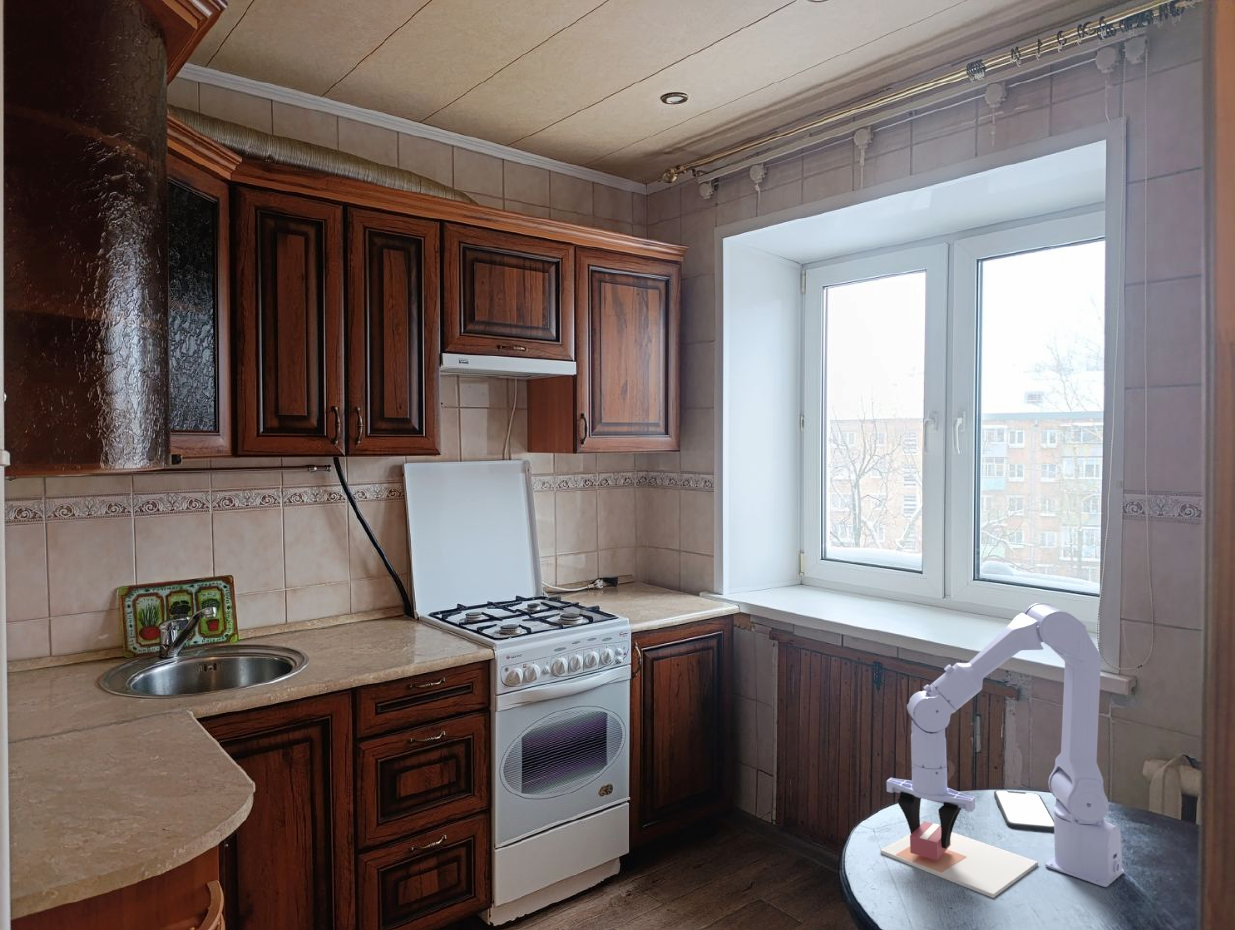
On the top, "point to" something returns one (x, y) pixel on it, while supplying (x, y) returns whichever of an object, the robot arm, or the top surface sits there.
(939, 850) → the card box
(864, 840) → the top surface
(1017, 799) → the smartphone
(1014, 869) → the mat
